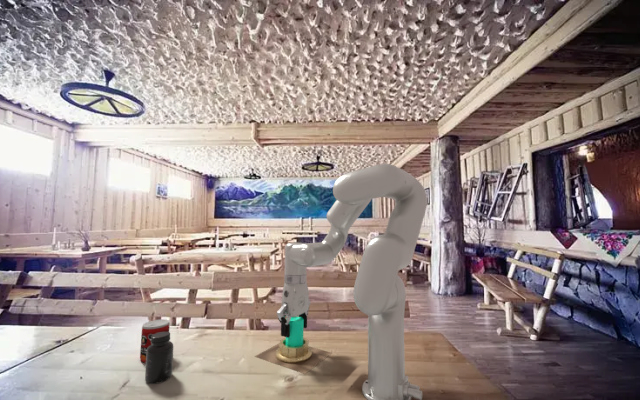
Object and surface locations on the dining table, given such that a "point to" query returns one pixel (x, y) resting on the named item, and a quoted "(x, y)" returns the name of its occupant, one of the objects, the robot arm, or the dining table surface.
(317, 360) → the walnut board
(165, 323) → the canned food
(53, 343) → the dining table surface
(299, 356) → the candle holder
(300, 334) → the candle
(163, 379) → the supplement bottle
